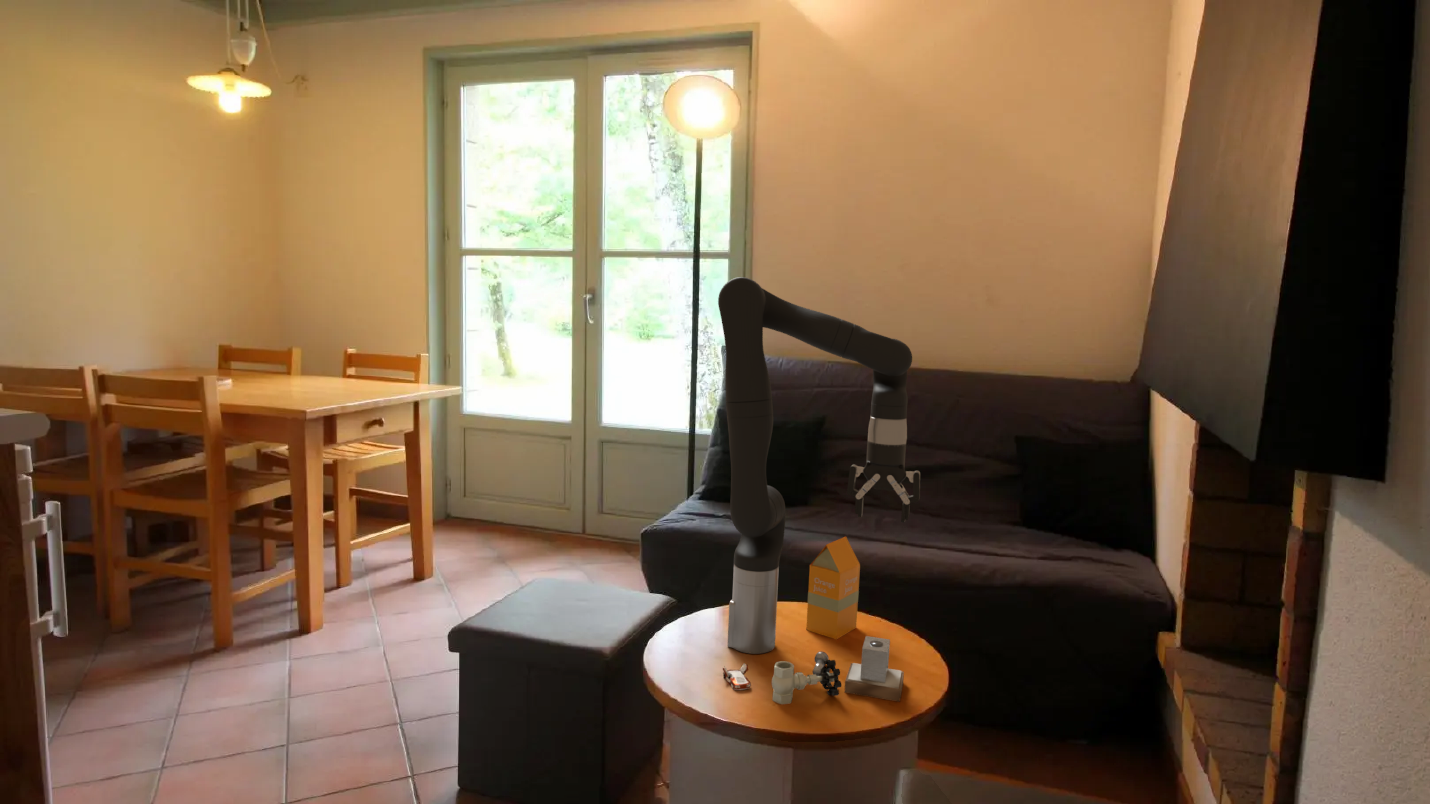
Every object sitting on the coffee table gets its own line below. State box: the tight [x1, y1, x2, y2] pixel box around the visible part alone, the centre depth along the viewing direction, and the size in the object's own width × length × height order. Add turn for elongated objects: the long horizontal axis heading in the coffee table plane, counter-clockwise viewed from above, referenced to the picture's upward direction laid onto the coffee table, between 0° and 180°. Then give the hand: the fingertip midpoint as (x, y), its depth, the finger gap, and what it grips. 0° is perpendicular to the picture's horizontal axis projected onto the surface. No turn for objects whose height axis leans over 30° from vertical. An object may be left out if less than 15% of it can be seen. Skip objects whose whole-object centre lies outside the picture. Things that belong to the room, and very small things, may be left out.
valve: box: [771, 659, 842, 705], centre depth 153 cm, size 7×7×12 cm
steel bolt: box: [812, 650, 830, 676], centre depth 165 cm, size 6×3×3 cm, turn 163°
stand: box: [844, 662, 905, 702], centre depth 158 cm, size 10×8×2 cm
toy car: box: [722, 663, 752, 691], centre depth 159 cm, size 5×8×3 cm, turn 17°
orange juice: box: [805, 536, 861, 640], centre depth 184 cm, size 8×9×20 cm
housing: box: [860, 635, 891, 683], centre depth 158 cm, size 4×6×6 cm
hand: (881, 519), depth 170 cm, fingers open, 8 cm apart
